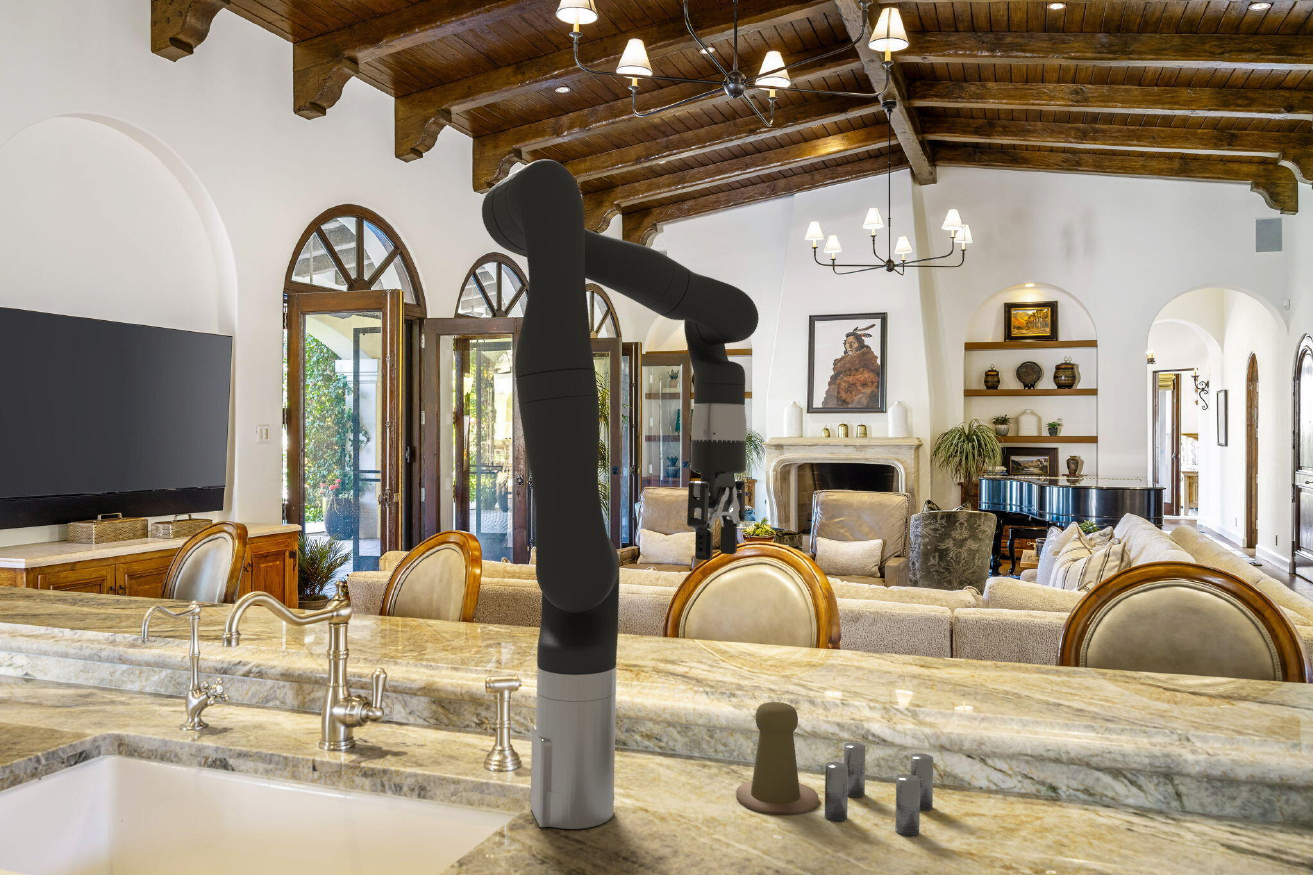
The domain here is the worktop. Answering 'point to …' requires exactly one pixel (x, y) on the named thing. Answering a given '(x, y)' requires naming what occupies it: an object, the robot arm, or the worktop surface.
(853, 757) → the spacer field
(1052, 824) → the worktop surface
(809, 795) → the smooth stone
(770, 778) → the brown tapered cylinder
